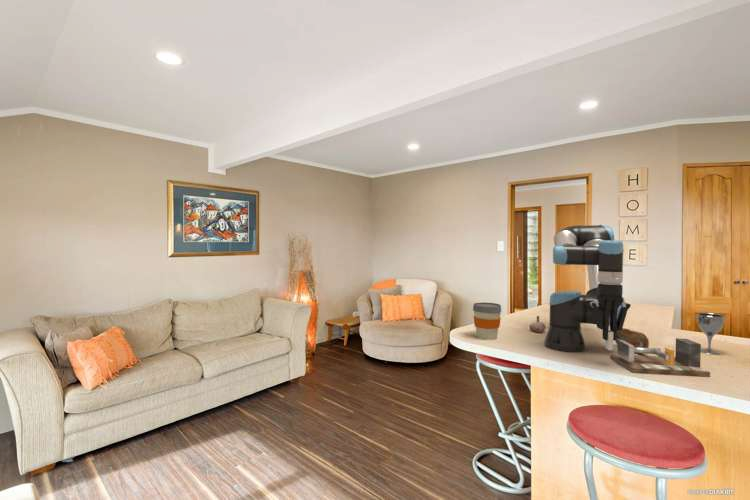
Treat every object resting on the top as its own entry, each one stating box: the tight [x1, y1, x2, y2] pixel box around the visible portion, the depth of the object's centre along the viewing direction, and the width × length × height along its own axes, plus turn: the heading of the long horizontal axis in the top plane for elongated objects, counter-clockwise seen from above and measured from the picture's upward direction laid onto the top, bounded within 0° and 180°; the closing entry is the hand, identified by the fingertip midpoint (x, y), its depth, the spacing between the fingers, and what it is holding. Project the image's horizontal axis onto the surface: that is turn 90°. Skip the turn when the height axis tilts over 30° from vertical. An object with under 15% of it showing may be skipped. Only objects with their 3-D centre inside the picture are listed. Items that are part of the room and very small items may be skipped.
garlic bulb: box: [529, 315, 547, 334], centre depth 181 cm, size 8×7×8 cm
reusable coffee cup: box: [472, 302, 502, 340], centre depth 170 cm, size 13×13×15 cm
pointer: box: [664, 347, 675, 365], centre depth 124 cm, size 1×3×5 cm, turn 171°
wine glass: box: [696, 312, 725, 356], centre depth 148 cm, size 8×8×15 cm
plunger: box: [617, 340, 669, 362], centre depth 129 cm, size 12×11×6 cm
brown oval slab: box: [614, 327, 650, 348], centre depth 150 cm, size 15×3×8 cm, turn 6°
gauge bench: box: [609, 337, 711, 378], centre depth 130 cm, size 23×16×10 cm
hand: (609, 349), depth 132 cm, fingers closed
